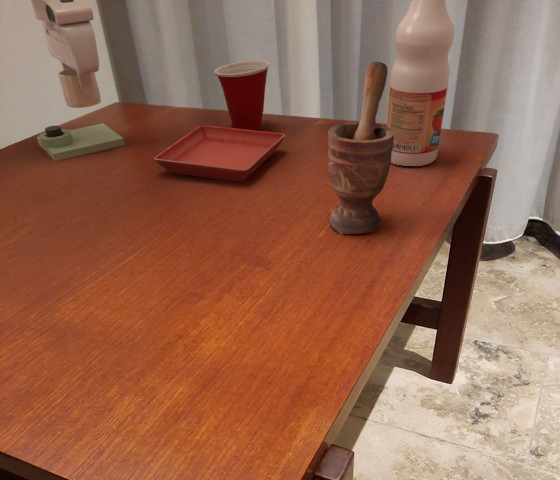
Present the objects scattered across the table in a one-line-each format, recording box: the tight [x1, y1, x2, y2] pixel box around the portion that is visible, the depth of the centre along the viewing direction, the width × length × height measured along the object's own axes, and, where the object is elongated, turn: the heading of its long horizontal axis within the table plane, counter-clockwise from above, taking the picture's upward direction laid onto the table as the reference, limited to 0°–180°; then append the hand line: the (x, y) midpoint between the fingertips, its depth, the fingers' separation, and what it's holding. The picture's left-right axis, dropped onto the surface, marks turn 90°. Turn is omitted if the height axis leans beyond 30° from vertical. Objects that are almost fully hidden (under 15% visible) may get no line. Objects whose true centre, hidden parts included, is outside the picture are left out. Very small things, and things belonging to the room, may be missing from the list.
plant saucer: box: [153, 124, 286, 183], centre depth 100 cm, size 18×18×3 cm
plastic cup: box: [214, 59, 270, 131], centre depth 111 cm, size 11×11×12 cm
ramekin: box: [57, 68, 102, 109], centre depth 106 cm, size 6×6×6 cm
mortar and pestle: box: [327, 61, 394, 235], centre depth 76 cm, size 12×9×20 cm
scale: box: [36, 122, 126, 162], centre depth 110 cm, size 14×12×3 cm
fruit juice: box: [385, 0, 455, 167], centre depth 90 cm, size 9×9×28 cm
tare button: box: [44, 125, 63, 137], centre depth 107 cm, size 3×3×2 cm
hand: (80, 90), depth 106 cm, fingers closed on ramekin, 6 cm apart
